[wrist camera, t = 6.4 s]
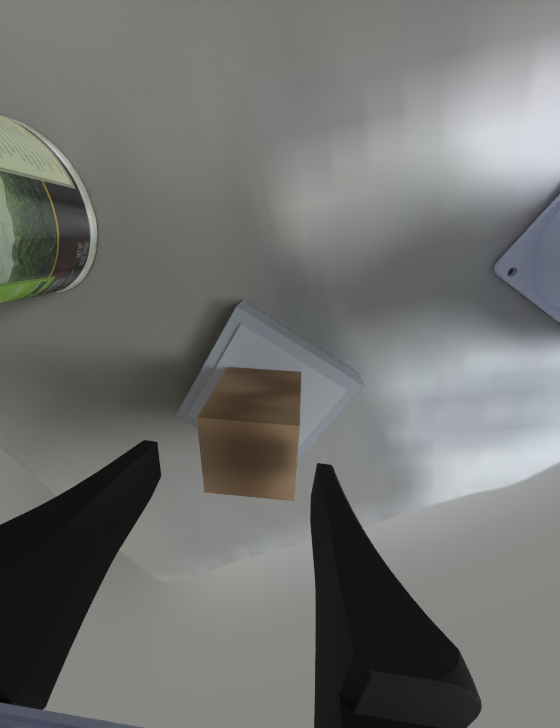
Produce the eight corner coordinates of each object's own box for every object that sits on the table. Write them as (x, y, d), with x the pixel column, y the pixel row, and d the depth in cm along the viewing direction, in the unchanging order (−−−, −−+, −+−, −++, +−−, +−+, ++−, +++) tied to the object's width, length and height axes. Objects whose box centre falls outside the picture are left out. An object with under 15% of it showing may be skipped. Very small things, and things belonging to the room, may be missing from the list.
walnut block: (301, 371, 19) (299, 425, 13) (296, 432, 21) (293, 501, 15) (228, 366, 19) (196, 417, 13) (230, 426, 21) (204, 492, 16)
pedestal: (359, 373, 21) (364, 387, 19) (287, 457, 25) (285, 476, 23) (243, 300, 19) (235, 306, 17) (185, 402, 23) (174, 417, 21)
